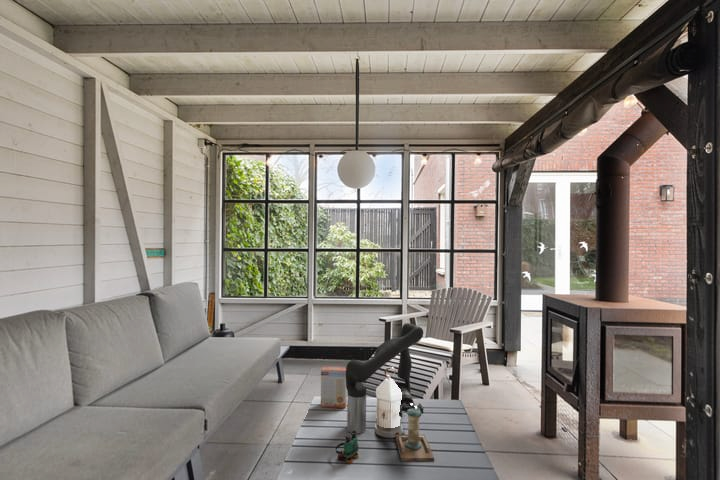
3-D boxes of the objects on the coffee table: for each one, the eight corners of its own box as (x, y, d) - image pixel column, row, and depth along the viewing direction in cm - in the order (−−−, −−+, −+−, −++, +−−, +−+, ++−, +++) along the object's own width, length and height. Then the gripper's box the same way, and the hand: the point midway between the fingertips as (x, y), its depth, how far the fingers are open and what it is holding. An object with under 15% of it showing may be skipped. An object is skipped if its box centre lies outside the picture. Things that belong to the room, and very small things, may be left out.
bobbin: (406, 449, 171) (407, 414, 171) (404, 441, 178) (404, 408, 178) (422, 449, 171) (423, 414, 172) (419, 441, 178) (420, 408, 179)
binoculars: (341, 427, 173) (361, 430, 168) (343, 451, 173) (362, 456, 168) (329, 435, 166) (349, 439, 161) (331, 461, 165) (351, 465, 160)
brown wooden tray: (401, 460, 164) (401, 454, 164) (395, 437, 184) (395, 431, 184) (434, 460, 165) (434, 454, 165) (424, 437, 185) (424, 431, 185)
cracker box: (346, 404, 222) (347, 367, 222) (345, 408, 216) (345, 370, 216) (322, 402, 223) (322, 366, 223) (320, 407, 217) (320, 369, 217)
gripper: (391, 393, 200) (395, 407, 184) (419, 393, 200) (425, 407, 184) (391, 408, 200) (395, 423, 184) (419, 408, 200) (425, 423, 184)
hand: (410, 415), depth 184 cm, fingers open, 8 cm apart
